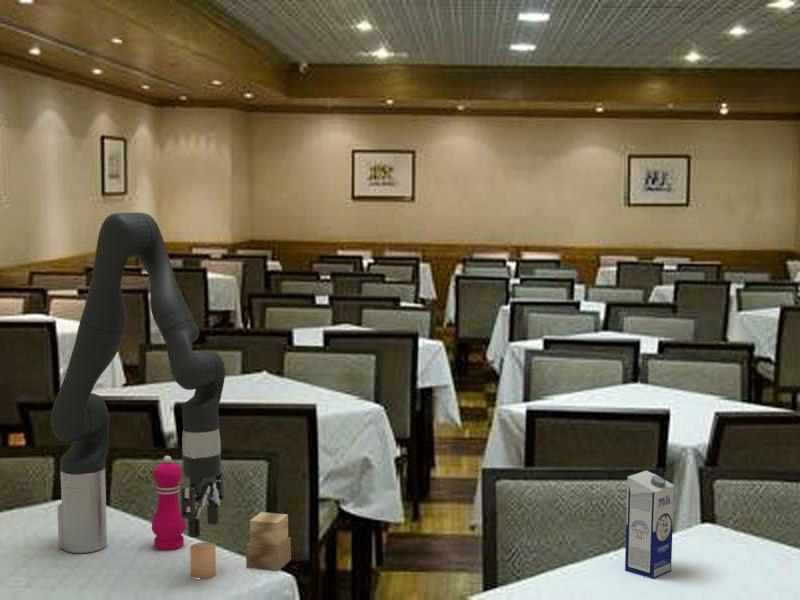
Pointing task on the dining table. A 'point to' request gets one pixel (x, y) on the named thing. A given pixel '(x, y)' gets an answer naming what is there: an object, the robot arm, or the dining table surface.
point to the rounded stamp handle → (203, 560)
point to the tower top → (269, 529)
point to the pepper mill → (168, 507)
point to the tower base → (268, 556)
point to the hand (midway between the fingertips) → (203, 530)
